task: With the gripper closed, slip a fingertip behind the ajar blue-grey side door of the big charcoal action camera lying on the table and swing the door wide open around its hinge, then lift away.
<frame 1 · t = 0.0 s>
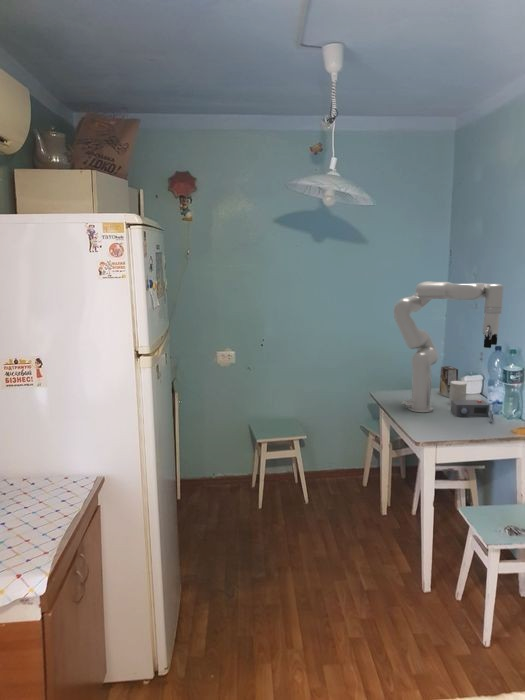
hand: (490, 346, 250), 37 cm above the table, tool pointing down, fingers open, 9 cm apart
coffee box: (447, 395, 302), on the table
cup: (457, 404, 285), on the table
side door: (491, 413, 257), point 3 cm above the table, hinge at 70.0°
camera body: (469, 413, 268), on the table
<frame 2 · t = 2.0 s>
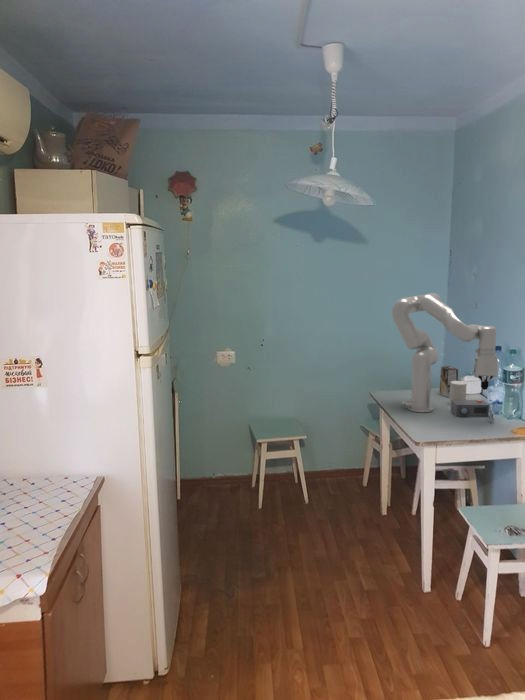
hand: (484, 388, 255), 16 cm above the table, tool pointing down, fingers closed
nothing on the table moved.
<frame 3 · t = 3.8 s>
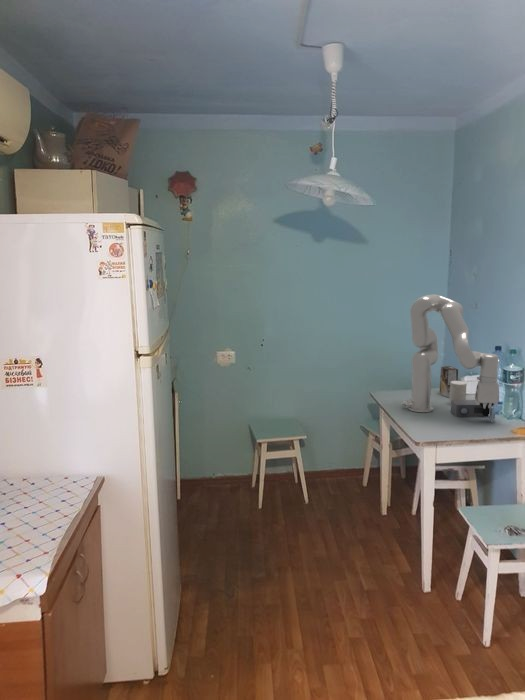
hand: (485, 415, 256), 3 cm above the table, tool pointing down, fingers closed
side door: (492, 413, 257), point 3 cm above the table, hinge at 74.5°, touching gripper
everything else where it was.
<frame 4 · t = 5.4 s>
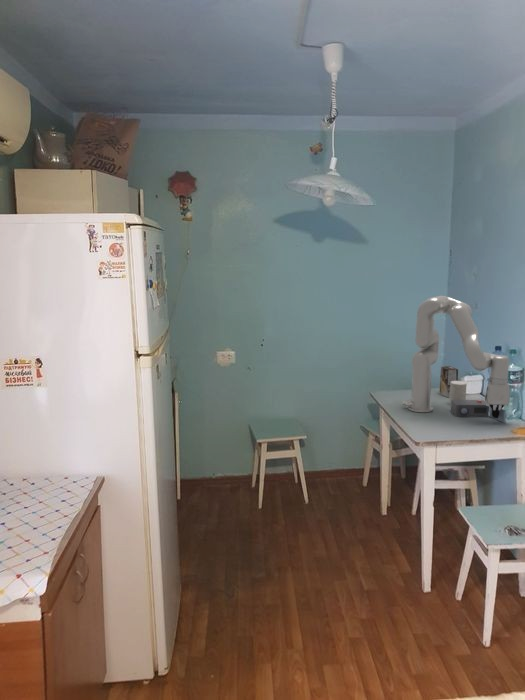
hand: (495, 417, 254), 2 cm above the table, tool pointing down, fingers closed
side door: (498, 413, 257), point 3 cm above the table, hinge at 109.0°, touching gripper
everything else where it was.
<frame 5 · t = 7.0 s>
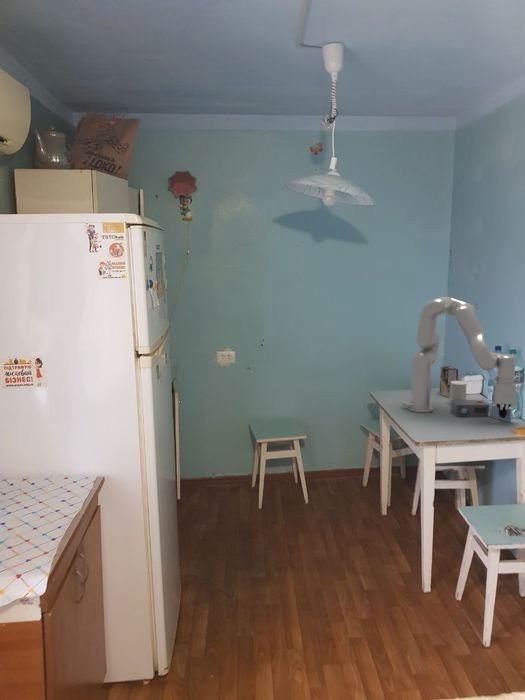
hand: (502, 416, 255), 2 cm above the table, tool pointing down, fingers closed
side door: (500, 412, 258), point 3 cm above the table, hinge at 132.2°, touching gripper
everything else where it was.
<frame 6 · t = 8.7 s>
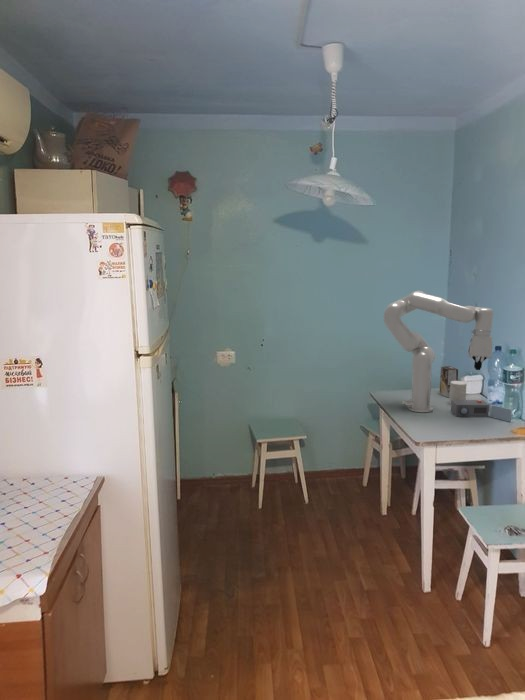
hand: (477, 369, 260), 24 cm above the table, tool pointing down, fingers closed
side door: (500, 412, 258), point 3 cm above the table, hinge at 132.2°
everything else where it was.
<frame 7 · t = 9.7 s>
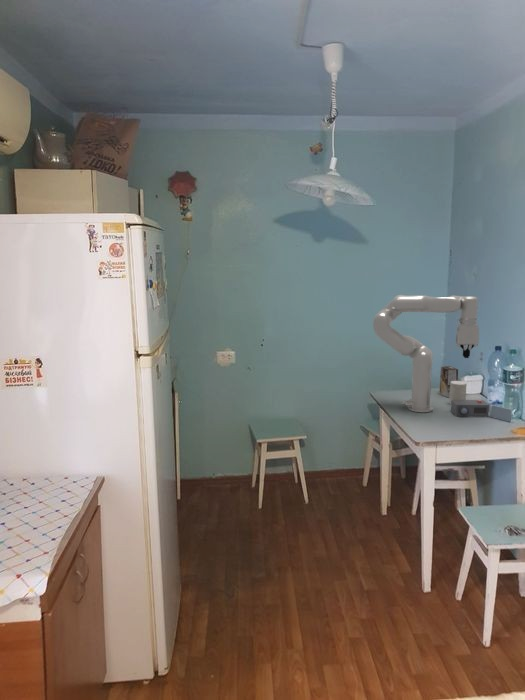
hand: (466, 357, 264), 29 cm above the table, tool pointing down, fingers closed
nothing on the table moved.
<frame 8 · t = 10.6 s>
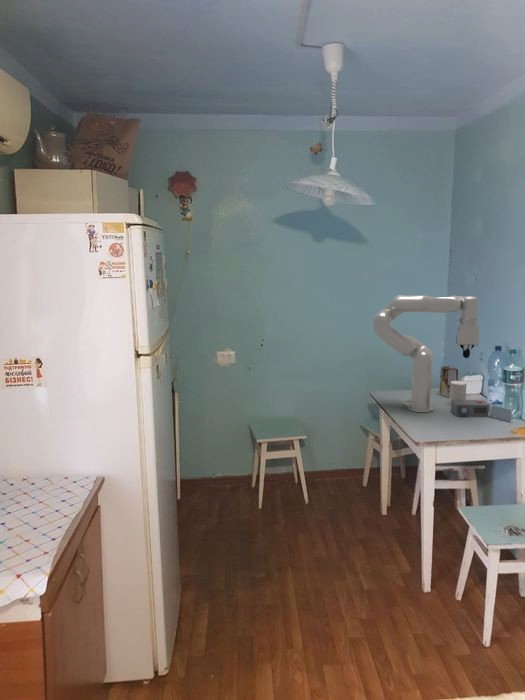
hand: (466, 357, 264), 29 cm above the table, tool pointing down, fingers closed
nothing on the table moved.
at the end: side door at +132° (first picture: +70°) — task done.
